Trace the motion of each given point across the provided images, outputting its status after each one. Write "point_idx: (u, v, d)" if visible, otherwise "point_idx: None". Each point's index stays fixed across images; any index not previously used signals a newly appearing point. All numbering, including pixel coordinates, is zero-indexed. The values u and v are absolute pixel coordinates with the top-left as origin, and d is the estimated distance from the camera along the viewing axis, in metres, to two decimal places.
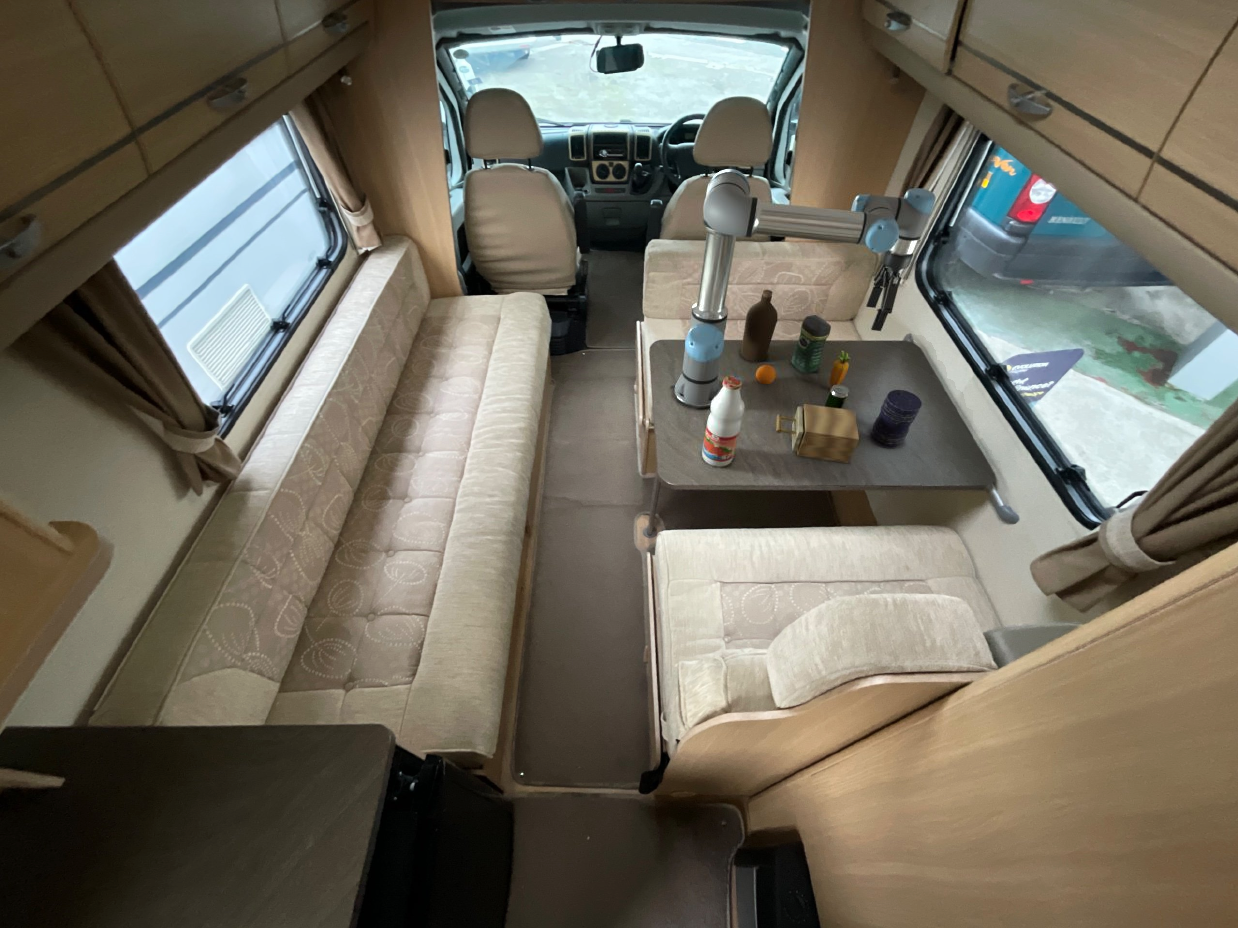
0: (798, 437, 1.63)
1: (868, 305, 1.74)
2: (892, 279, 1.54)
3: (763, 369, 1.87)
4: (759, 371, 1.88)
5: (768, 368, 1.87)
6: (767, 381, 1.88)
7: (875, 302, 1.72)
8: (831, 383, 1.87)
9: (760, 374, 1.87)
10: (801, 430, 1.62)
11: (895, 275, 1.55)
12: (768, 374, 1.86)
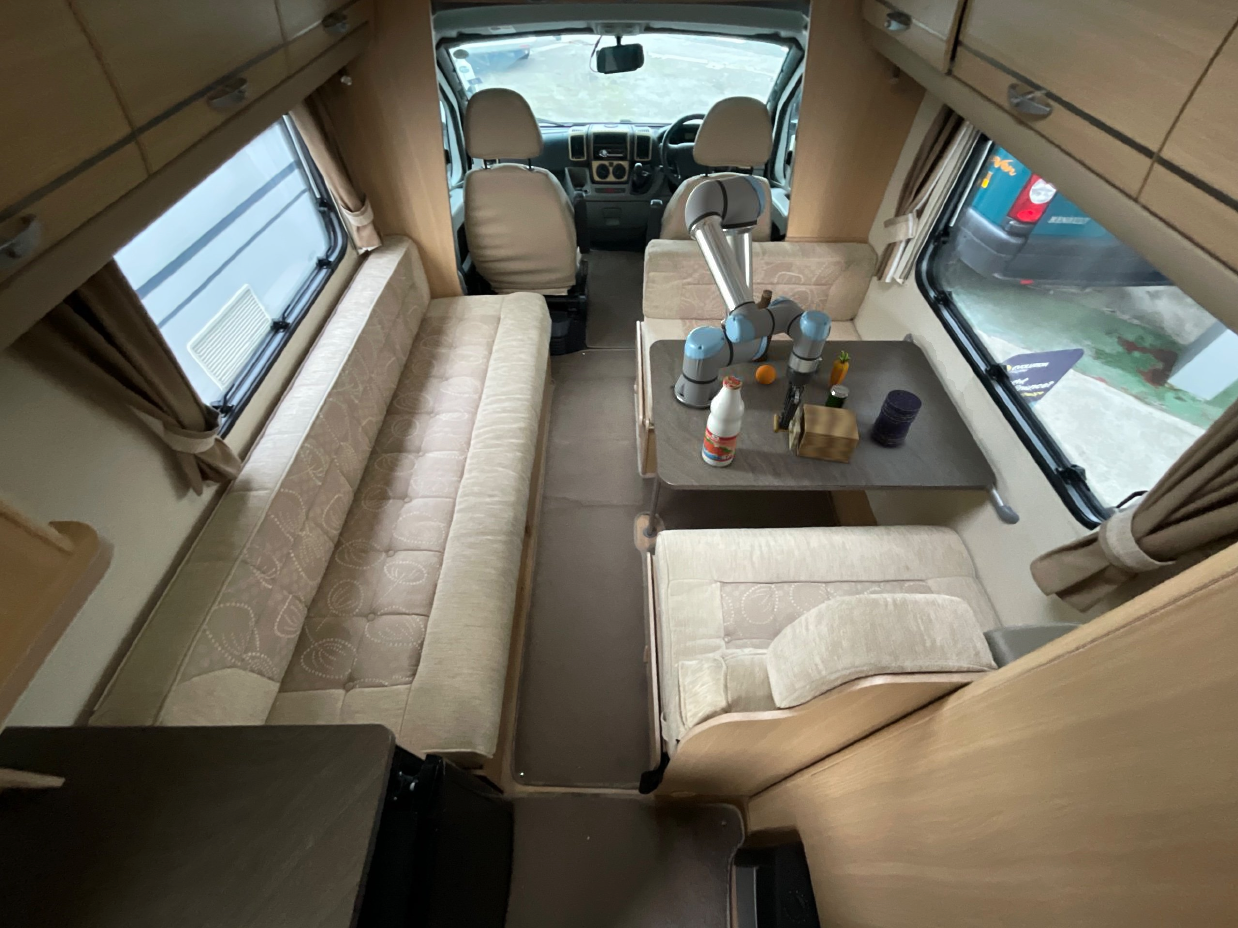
0: (795, 437, 1.63)
1: None
2: (792, 401, 1.54)
3: (763, 369, 1.87)
4: (759, 371, 1.88)
5: (768, 368, 1.87)
6: (767, 381, 1.88)
7: None
8: (831, 383, 1.87)
9: (760, 374, 1.87)
10: (798, 430, 1.62)
11: (797, 394, 1.54)
12: (768, 374, 1.86)
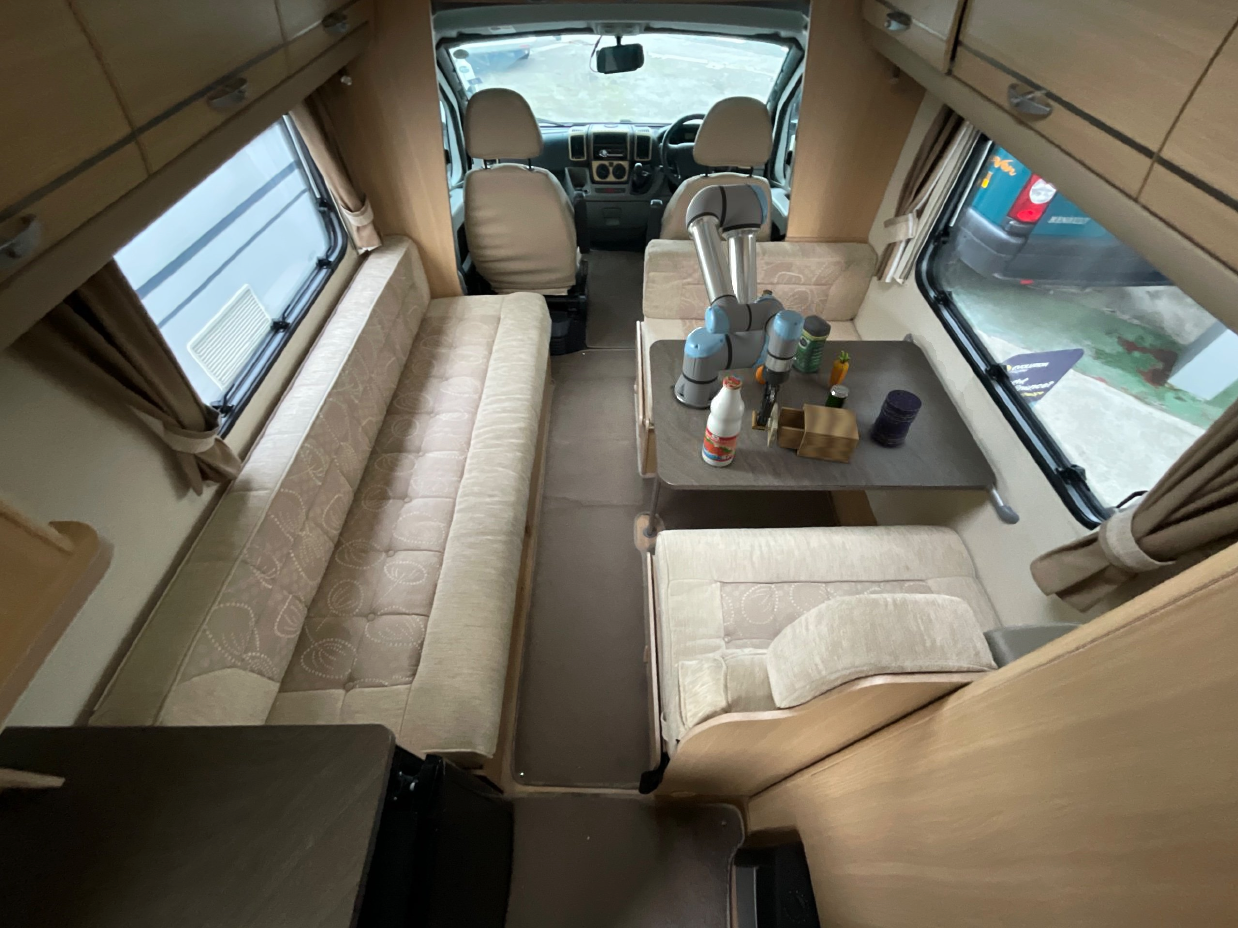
0: (773, 433, 1.64)
1: None
2: (767, 400, 1.55)
3: None
4: (759, 371, 1.88)
5: None
6: None
7: None
8: (831, 383, 1.87)
9: (760, 374, 1.87)
10: (775, 426, 1.63)
11: (772, 393, 1.55)
12: None
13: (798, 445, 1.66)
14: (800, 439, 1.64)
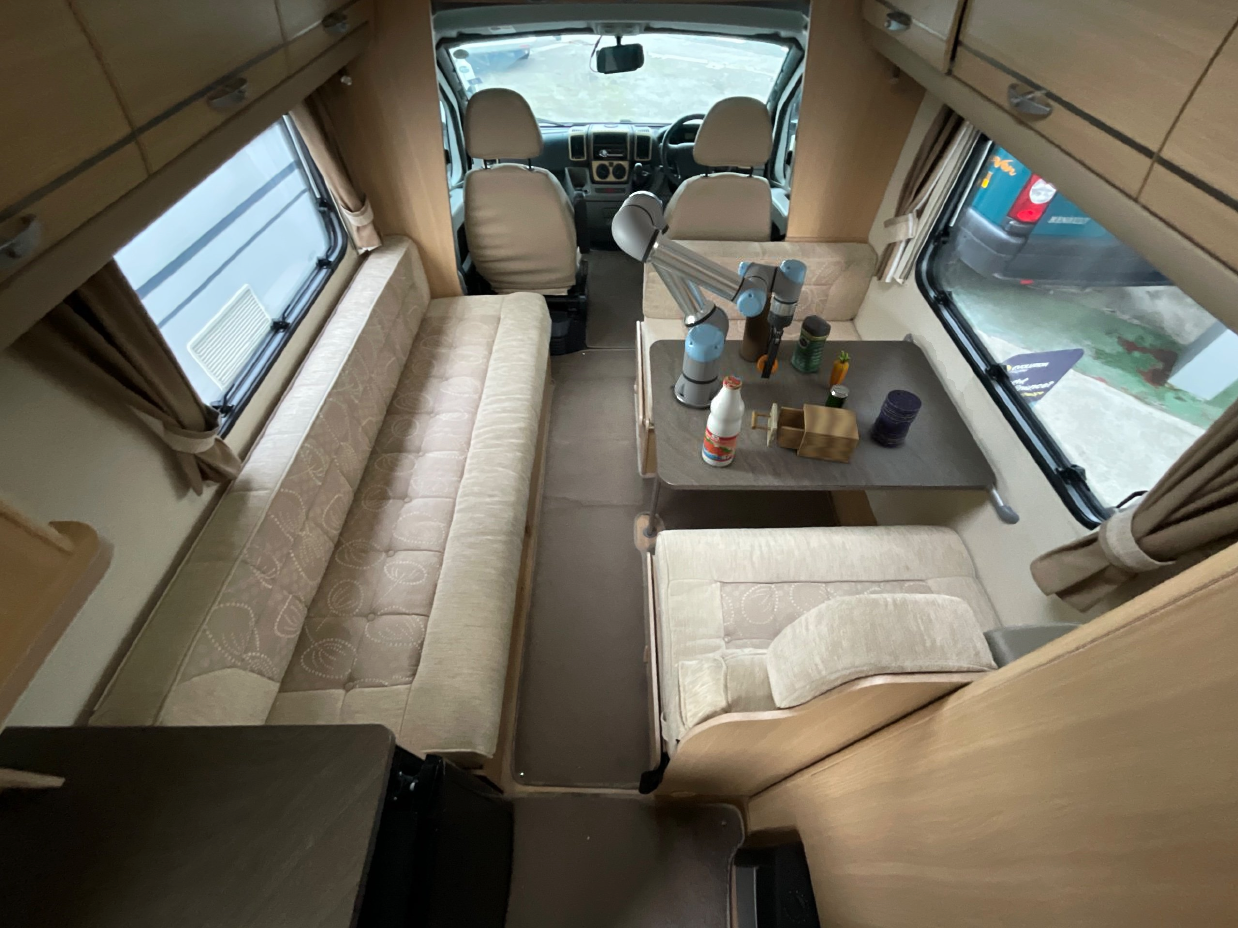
0: (772, 433, 1.64)
1: None
2: (773, 340, 1.73)
3: (765, 359, 1.84)
4: (761, 361, 1.85)
5: None
6: None
7: None
8: (831, 383, 1.87)
9: (762, 364, 1.85)
10: (775, 426, 1.63)
11: (777, 335, 1.73)
12: None
13: (798, 445, 1.66)
14: (800, 439, 1.64)
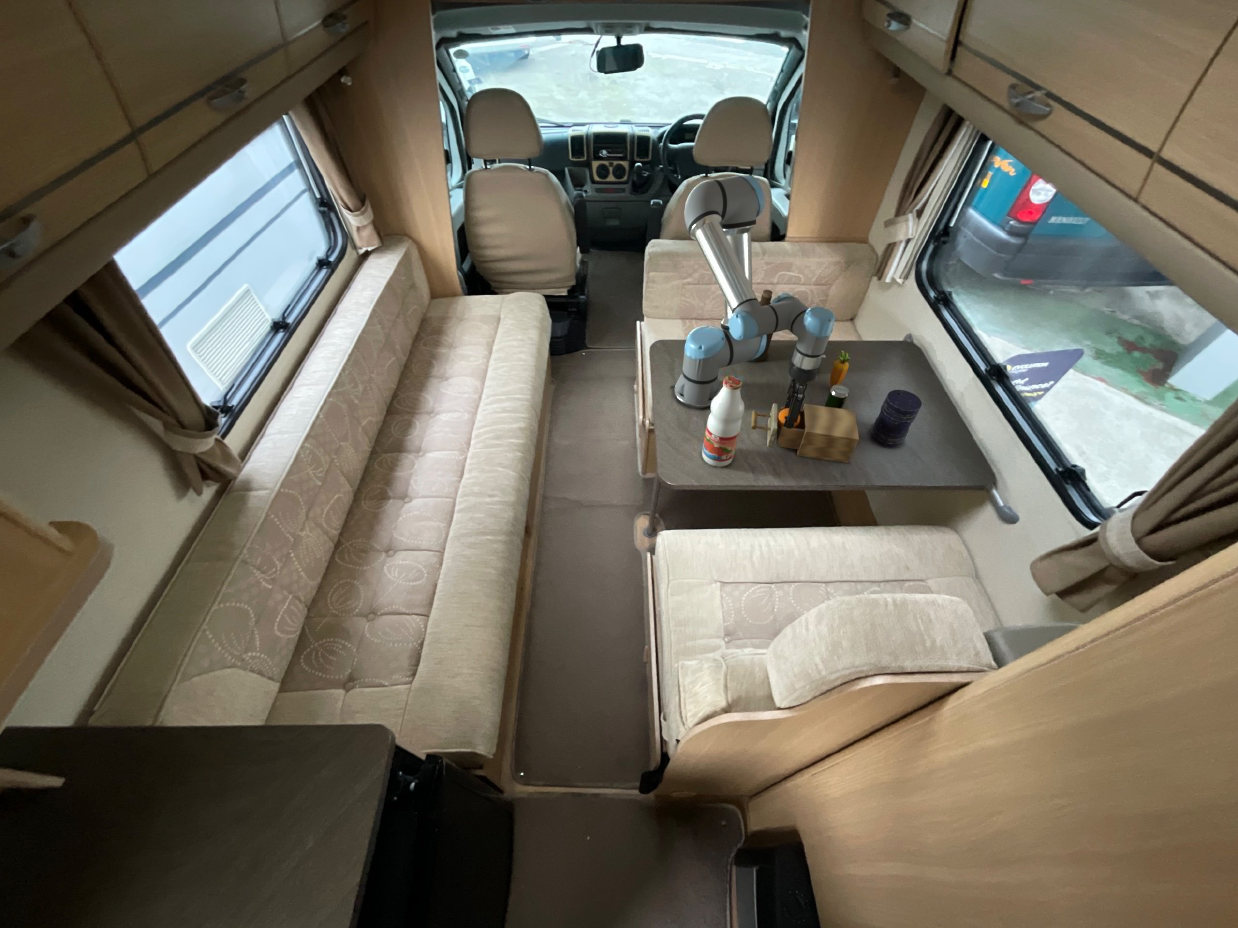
0: (772, 433, 1.64)
1: None
2: (796, 397, 1.52)
3: (786, 413, 1.64)
4: (781, 415, 1.64)
5: None
6: None
7: None
8: (831, 383, 1.87)
9: (782, 419, 1.64)
10: (775, 426, 1.63)
11: (800, 390, 1.53)
12: None
13: (798, 445, 1.66)
14: (800, 439, 1.64)
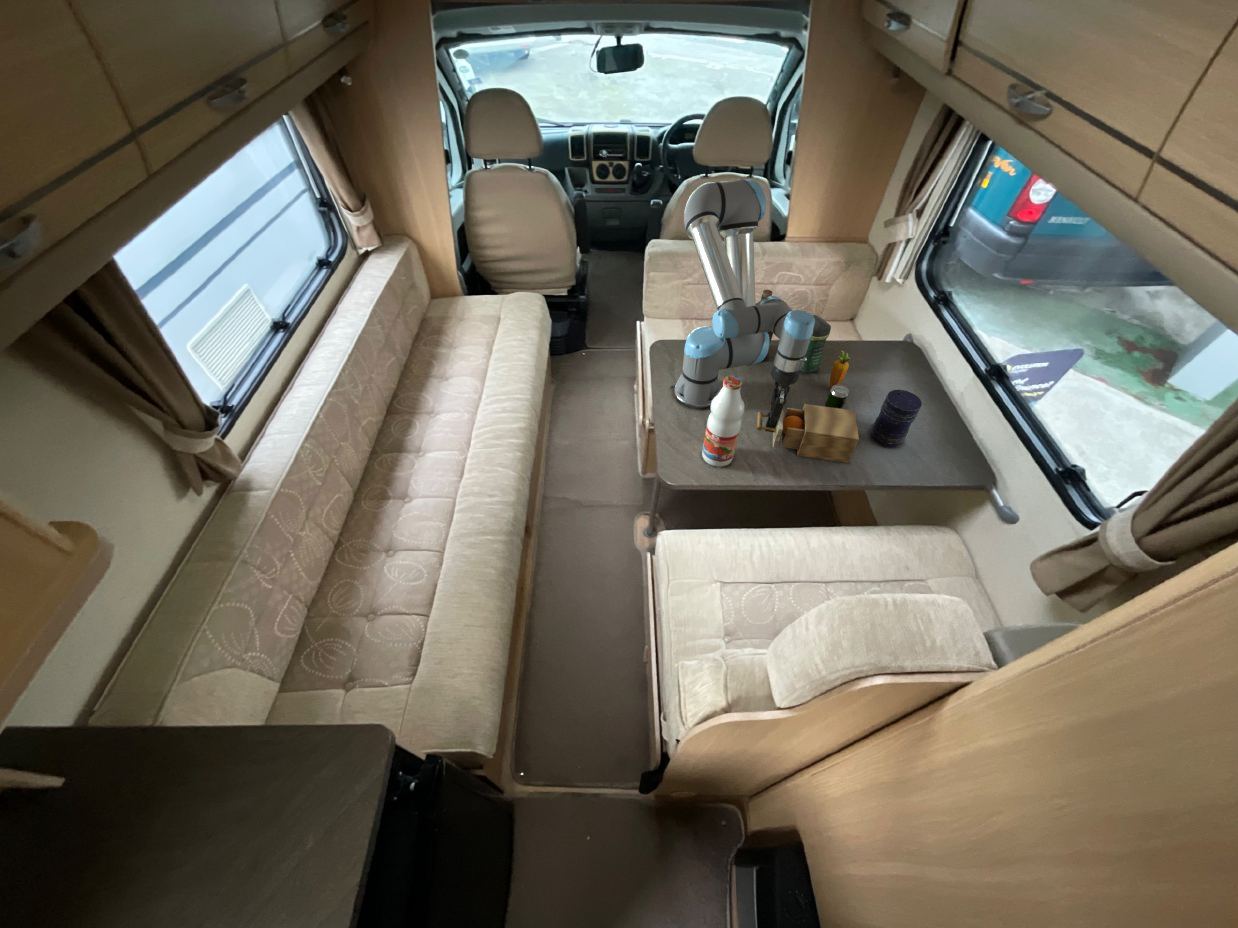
0: (778, 434, 1.64)
1: None
2: (777, 401, 1.55)
3: (791, 420, 1.66)
4: (786, 421, 1.66)
5: (796, 419, 1.65)
6: None
7: None
8: (831, 383, 1.87)
9: (787, 425, 1.66)
10: (781, 427, 1.62)
11: (782, 394, 1.54)
12: (796, 426, 1.65)
13: None
14: None
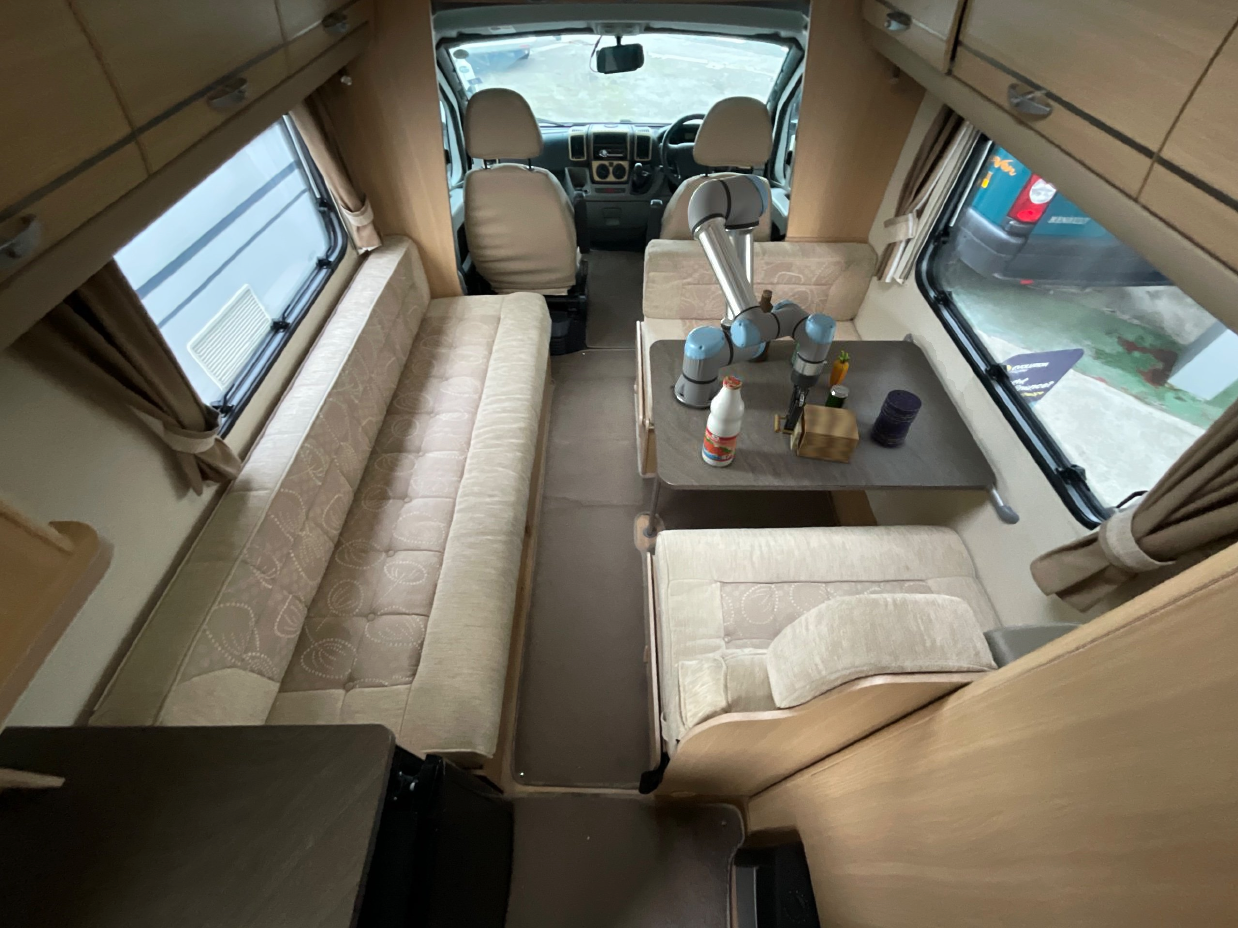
0: (796, 437, 1.63)
1: None
2: (797, 404, 1.54)
3: None
4: (804, 424, 1.66)
5: None
6: None
7: None
8: (831, 383, 1.87)
9: None
10: (799, 430, 1.62)
11: (802, 397, 1.54)
12: None
13: None
14: None
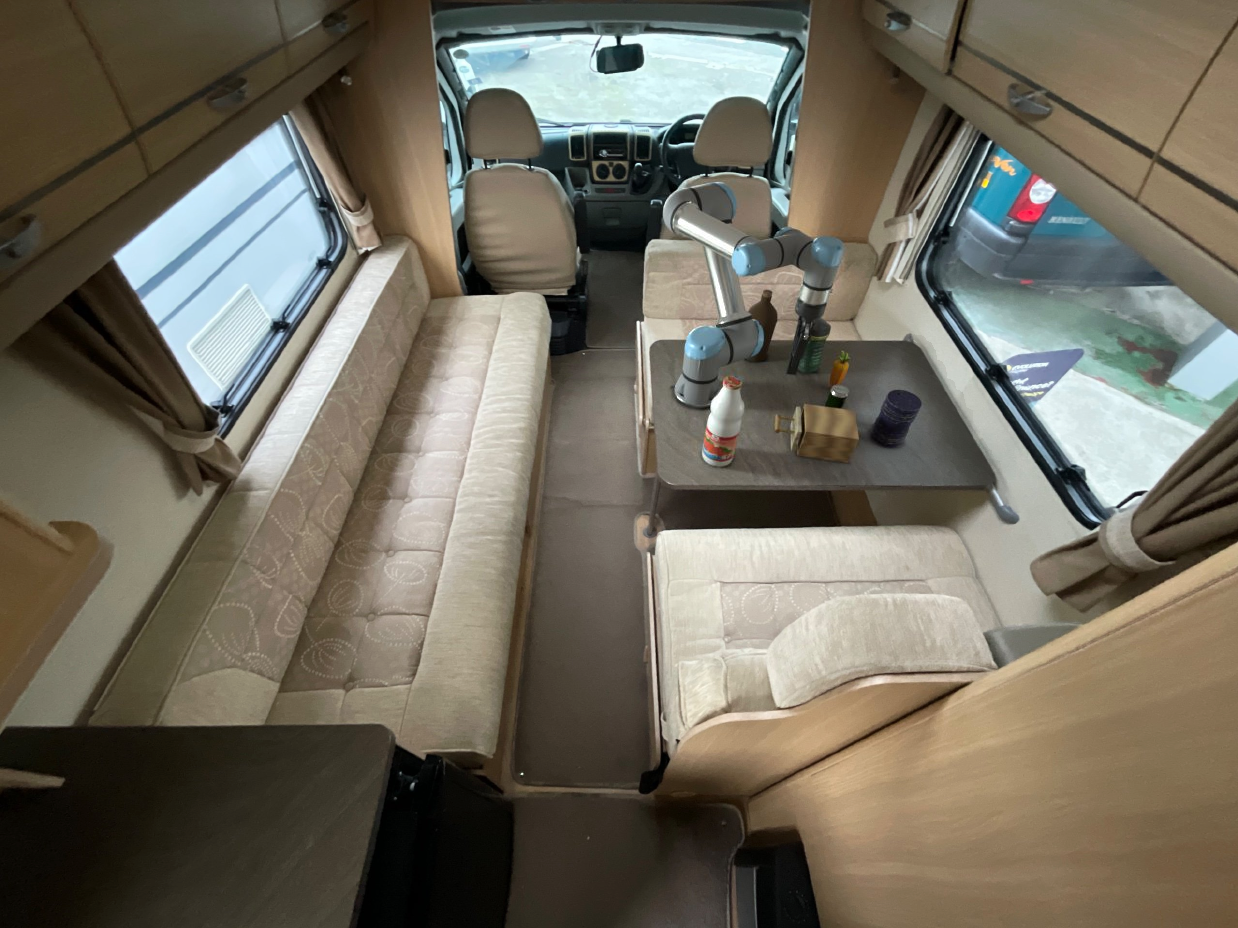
0: (797, 437, 1.63)
1: None
2: (801, 337, 1.46)
3: None
4: None
5: None
6: None
7: None
8: (831, 383, 1.87)
9: None
10: (800, 430, 1.62)
11: (807, 329, 1.46)
12: None
13: None
14: None
